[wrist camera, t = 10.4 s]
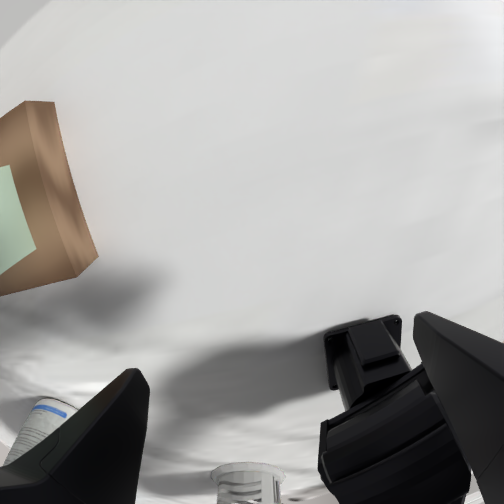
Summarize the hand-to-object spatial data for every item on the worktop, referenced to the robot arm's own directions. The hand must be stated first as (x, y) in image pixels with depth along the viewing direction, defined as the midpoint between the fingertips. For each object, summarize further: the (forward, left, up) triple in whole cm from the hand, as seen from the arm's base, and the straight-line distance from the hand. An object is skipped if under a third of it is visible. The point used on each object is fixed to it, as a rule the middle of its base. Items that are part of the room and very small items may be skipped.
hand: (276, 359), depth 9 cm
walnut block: (+7, +18, -13) cm, 23 cm away
